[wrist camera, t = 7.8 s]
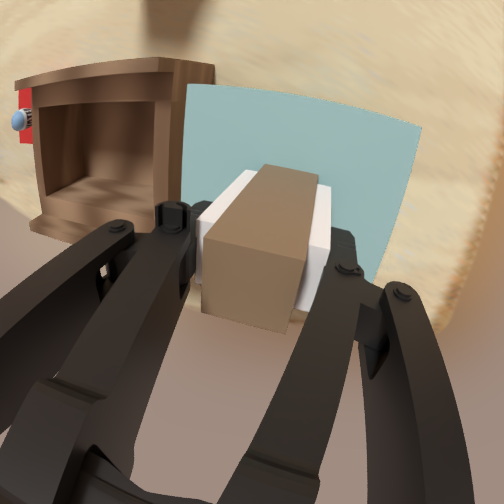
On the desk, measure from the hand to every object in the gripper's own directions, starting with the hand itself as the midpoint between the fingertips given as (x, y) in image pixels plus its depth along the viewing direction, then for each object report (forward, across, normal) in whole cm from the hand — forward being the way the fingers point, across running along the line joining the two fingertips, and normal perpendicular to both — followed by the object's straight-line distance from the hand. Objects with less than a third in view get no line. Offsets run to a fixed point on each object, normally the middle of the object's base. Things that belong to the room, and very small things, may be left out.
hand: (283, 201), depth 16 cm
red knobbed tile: (+10, -28, +3) cm, 30 cm away
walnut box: (+10, -16, 0) cm, 18 cm away
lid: (+3, 0, 0) cm, 3 cm away
